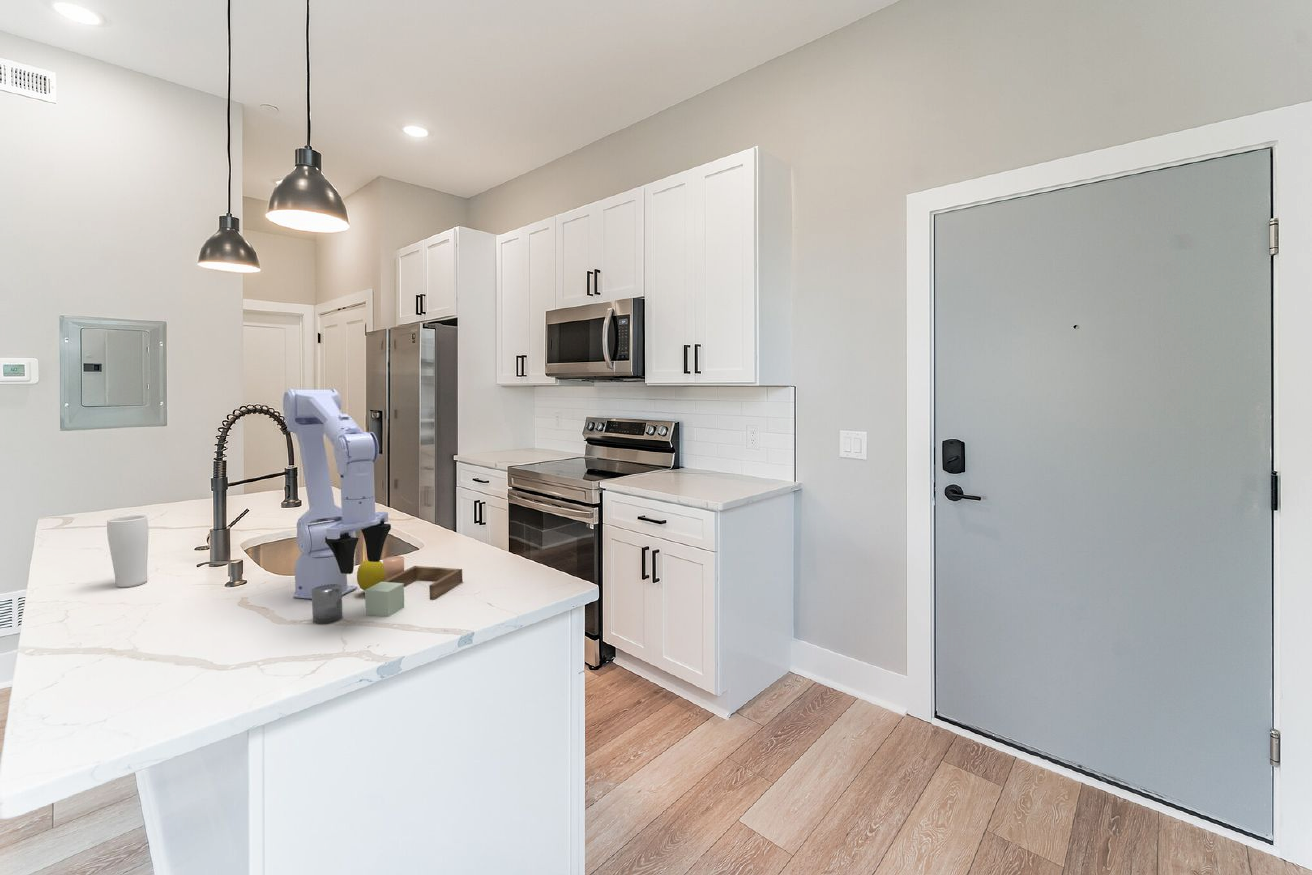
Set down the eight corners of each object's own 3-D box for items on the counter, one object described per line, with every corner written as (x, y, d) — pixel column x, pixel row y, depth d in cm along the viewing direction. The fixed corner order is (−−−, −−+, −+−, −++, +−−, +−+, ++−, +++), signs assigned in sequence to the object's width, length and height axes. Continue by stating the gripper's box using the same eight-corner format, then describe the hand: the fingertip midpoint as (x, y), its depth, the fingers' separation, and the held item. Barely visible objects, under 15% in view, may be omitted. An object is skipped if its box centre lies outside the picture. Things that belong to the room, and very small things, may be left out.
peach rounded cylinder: (379, 582, 135) (378, 561, 134) (391, 576, 139) (391, 555, 138) (396, 583, 134) (396, 562, 133) (408, 577, 138) (408, 556, 138)
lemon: (374, 599, 124) (373, 561, 123) (351, 597, 125) (350, 559, 124) (391, 590, 129) (390, 554, 129) (369, 588, 131) (367, 552, 130)
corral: (382, 595, 126) (382, 581, 126) (415, 578, 137) (414, 565, 137) (434, 599, 124) (433, 585, 124) (462, 581, 135) (462, 569, 135)
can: (306, 623, 112) (305, 591, 111) (326, 613, 116) (324, 583, 116) (329, 625, 111) (328, 593, 110) (348, 615, 115) (347, 585, 115)
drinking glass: (104, 586, 131) (99, 519, 129) (140, 577, 137) (136, 513, 136) (122, 591, 128) (117, 522, 127) (158, 581, 134) (154, 516, 133)
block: (365, 614, 116) (364, 589, 115) (382, 605, 121) (381, 581, 120) (388, 616, 115) (387, 591, 114) (404, 607, 120) (403, 583, 119)
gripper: (349, 505, 104) (352, 580, 106) (400, 491, 119) (402, 557, 120) (315, 503, 106) (318, 577, 107) (369, 489, 120) (371, 555, 121)
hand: (360, 567), depth 113 cm, fingers open, 7 cm apart
